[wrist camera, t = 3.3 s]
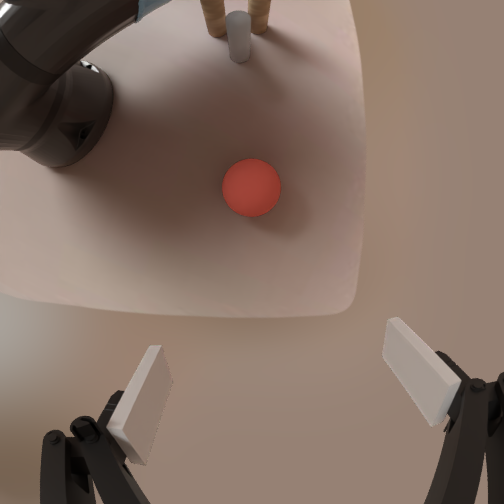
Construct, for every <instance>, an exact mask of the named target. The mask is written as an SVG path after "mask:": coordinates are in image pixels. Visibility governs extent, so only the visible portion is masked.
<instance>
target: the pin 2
mask: <svg viewBox="0 0 504 504" xmlns="http://www.w3.org/2000/svg"><path fill="white" fill-rule="evenodd" d="M270 3H271V0H248V14H249V15H250V17H251V33H254V34H262V33H264V32H265V31H266V30H267V24H268V17H269V10H270Z"/></svg>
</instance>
